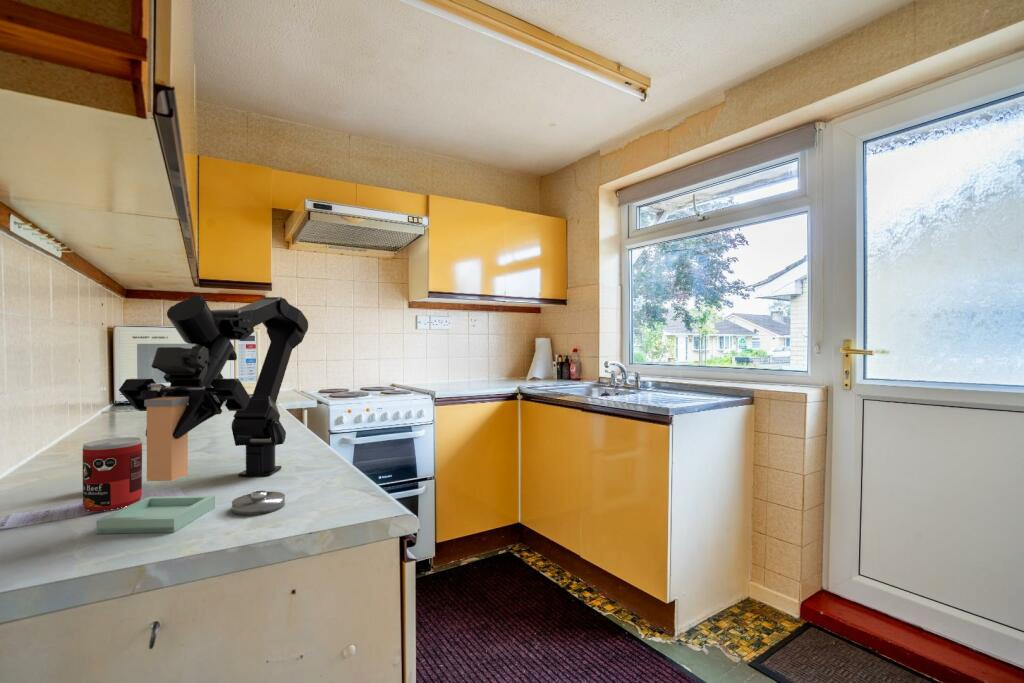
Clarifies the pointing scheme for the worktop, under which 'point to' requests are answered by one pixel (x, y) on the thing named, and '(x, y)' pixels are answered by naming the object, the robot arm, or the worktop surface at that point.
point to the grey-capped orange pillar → (165, 439)
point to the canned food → (112, 473)
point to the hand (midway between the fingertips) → (161, 437)
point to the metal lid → (258, 503)
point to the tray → (156, 515)
